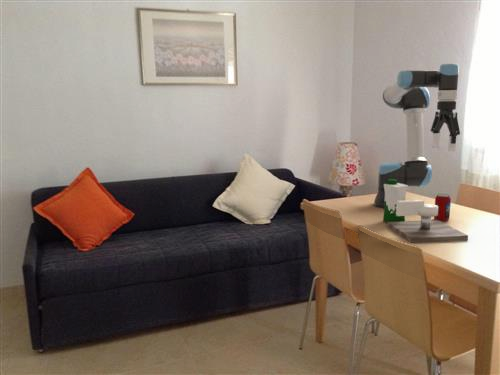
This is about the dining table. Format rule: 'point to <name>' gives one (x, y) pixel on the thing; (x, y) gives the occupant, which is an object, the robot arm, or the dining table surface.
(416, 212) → the spoon
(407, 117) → the robot arm
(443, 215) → the beverage can
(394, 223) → the base plate
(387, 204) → the milk carton
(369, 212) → the dining table surface
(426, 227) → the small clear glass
